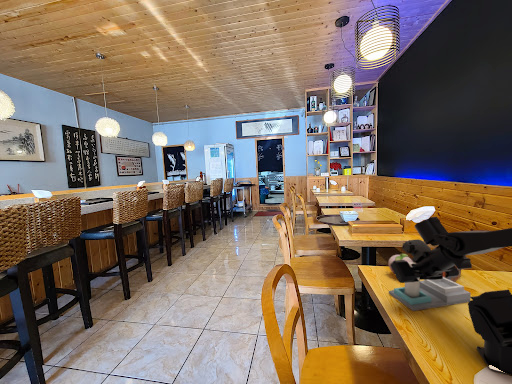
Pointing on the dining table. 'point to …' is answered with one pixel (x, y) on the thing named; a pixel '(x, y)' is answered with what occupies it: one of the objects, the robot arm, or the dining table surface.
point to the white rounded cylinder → (412, 286)
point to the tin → (452, 278)
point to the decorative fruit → (398, 257)
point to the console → (433, 294)
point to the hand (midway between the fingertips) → (408, 278)
